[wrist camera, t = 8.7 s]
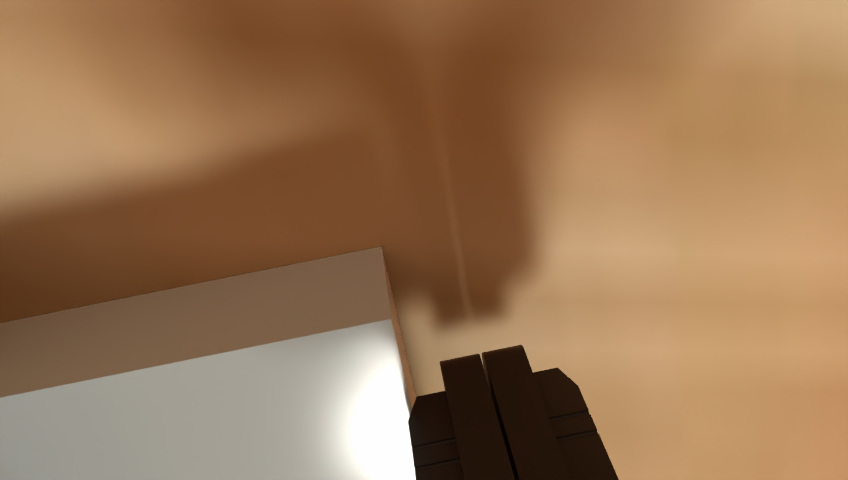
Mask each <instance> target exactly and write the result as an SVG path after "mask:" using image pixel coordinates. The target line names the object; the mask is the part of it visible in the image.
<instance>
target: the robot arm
mask: <svg viewBox="0 0 848 480" xmlns="http://www.w3.org/2000/svg"><path fill="white" fill-rule="evenodd" d="M482 360H483V365H482V361H481V358H480V355H479V354H475V355H470V356H465V357H460V358H455V359H450V360H445V361H440V366H441V371H442V376H443V381H444V387H445V391H442V392H438V393H433V394H428V395H423V396H418V397H416V400H415V402H414V405H413V408H412V411H411V414H410V417H409V419H408V426H409V433H410V440H411V447H412V454H413V462H414V468H415V476H416V480H618V477H617V475H616V473H615V470H614V468H613V466H612V463H611V461H610V459H609V456H608V454H607V452H606V449H605V447H604V445H603V443H602V440H601V438H600V436H599V434H598V433H597V429H596V426H595V424H594V422H593V419H592V417H591V415H590V414H589V411H588V408H587V406H586V403H585V401H584V399H583V396H582V394H581V392H580V389H579V387H578V385H576V384H575V383H574V382H573V381H572V380H571V379H570V378H569V377H567V376H566V375H565V374H564V373H563V372H562V371H561V370H560V369H558V368H554V369H549V370H544V371H539V372H534V373H533V372H532V369H531V367H530V364H529V361H528V358H527V356H526V353H525V350H524V348H523V346H522V345H518V346H513V347H508V348H503V349H498V350H493V351H488V352H484V353H482ZM483 367H484V368H483Z"/></svg>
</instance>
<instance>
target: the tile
mask: <svg viewBox="0 0 848 480" xmlns="http://www.w3.org/2000/svg"><path fill="white" fill-rule="evenodd" d="M415 400H416V395H415V391H414V386H413V382H412V378H411V373H410V369H409V364H408V360H407V356H406V351H405V347H404V343H403V338H402V334H401V329H400V325H399V321H398V316H397V312H396V308H395V303H394V299H393V294H392V290H391V286H390V281H389V277H388V273H387V268H386V264H385V259H384V255H383V251H382V246H381V247H376V248H371V249H366V250H361V251H356V252H351V253H346V254H341V255H336V256H331V257H326V258H321V259H316V260H311V261H306V262H301V263H296V264H291V265H286V266H281V267H276V268H271V269H266V270H261V271H256V272H251V273H246V274H241V275H236V276H231V277H227V278H222V279H217V280H212V281H207V282H202V283H197V284H192V285H187V286H182V287H177V288H172V289H167V290H162V291H157V292H152V293H147V294H142V295H137V296H132V297H127V298H122V299H117V300H112V301H107V302H102V303H97V304H92V305H87V306H82V307H78V308H73V309H68V310H63V311H58V312H53V313H48V314H43V315H38V316H33V317H28V318H23V319H18V320H13V321H8V322H3V323H0V480H416V476H415V468H414V462H413V454H412V447H411V440H410V433H409V426H408V419H409V417H410V414H411V411H412V408H413V405H414V402H415Z"/></svg>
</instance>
